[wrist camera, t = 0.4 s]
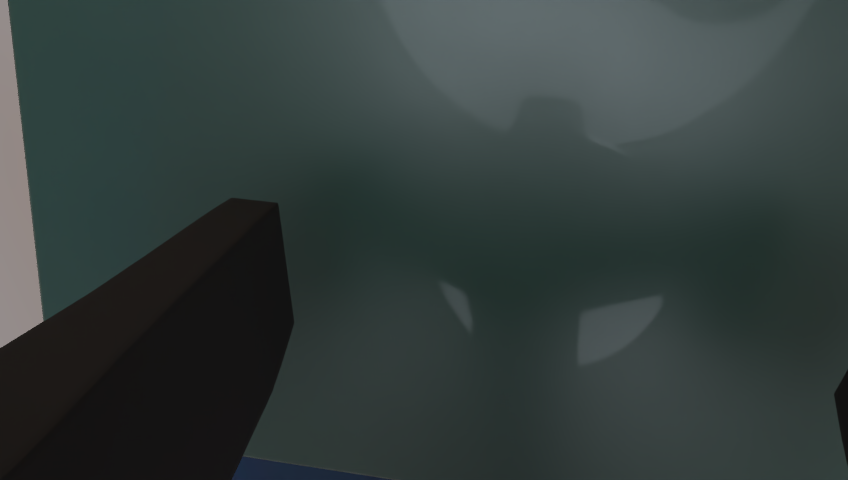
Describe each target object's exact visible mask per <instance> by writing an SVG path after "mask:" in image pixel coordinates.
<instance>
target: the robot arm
mask: <svg viewBox="0 0 848 480" xmlns="http://www.w3.org/2000/svg"><path fill="white" fill-rule="evenodd" d="M293 326H294V316H293V308H292V301H291V294H290V286H289V279H288V272H287V264H286V257H285V250H284V242H283V235H282V228H281V220H280V213H279V206H278V203H276V202H267V201H258V200H249V199H240V198H230V199H228V200H227V201H225V202H223V203H222V204H220V205H218V206H217V207H215V208H214V209H212V210H211V211H209V212H208V213H206V214H205V215H203V216H202V217H200V218H199V219H197V220H196V221H194V222H193V223H192V224H190V225H189V226H187V227H186V228H184V229H183V230H181V231H180V232H179V233H177V234H176V235H174V236H173V237H171V238H170V239H168V240H167V241H166V242H164V243H163V244H161V245H160V246H158V247H157V248H155V249H154V250H153V251H151V252H150V253H148V254H147V255H145V256H144V257H142V258H141V259H139V260H138V261H136V262H135V263H133V264H132V265H130V266H129V267H127V268H126V269H124V270H123V271H122V272H120V273H119V274H117V275H116V276H114V277H113V278H111V279H110V280H108V281H107V282H105V283H104V284H102V285H101V286H99V287H98V288H96V289H95V290H93V291H92V292H90V293H89V294H87V295H86V296H84V297H82V298H81V299H79V300H77V301H76V302H74V303H73V304H71V305H69V306H68V307H66V308H65V309H63V310H61V311H60V312H58V313H56V314H55V315H53V316H52V317H50V318H48V319H47V320H45V321H44V322H42V323H40V324H39V325H37V326H36V327H34V328H32V329H31V330H29V331H27V332H26V333H24V334H23V335H21V336H19V337H18V338H16V339H15V340H13V341H11V342H10V343H8V344H7V345H5V346H3V347H1V348H0V480H232V478H233V475H234V473H235V471H236V469H237V467H238V465H239V463H240V461H241V459H242V456H243V454H244V452H245V450H246V448H247V446H248V444H249V442H250V439H251V437H252V435H253V433H254V431H255V429H256V426H257V424H258V422H259V420H260V418H261V416H262V414H263V411H264V409H265V407H266V405H267V403H268V400H269V398H270V396H271V394H272V391H273V388H274V385H275V382H276V379H277V376H278V373H279V370H280V368H281V365H282V362H283V358H284V355H285V352H286V349H287V345H288V342H289V339H290V336H291V332H292V329H293ZM834 398H835V403H836V409H837V415H838V421H839V426H840V432H841V438H842V442H843V447H844V452H845V456H846V461H847V466H848V370H847V371H846V373H845V375H844V377H843V379H842V380H841V382H840V384H839V386H838V388H837V389H836V391H835V393H834Z"/></svg>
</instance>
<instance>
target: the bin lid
mask: <svg viewBox="0 0 848 480" xmlns="http://www.w3.org/2000/svg"><path fill="white" fill-rule="evenodd" d="M8 6H9V15H10V24H11V32H12V42H13V49H14V60H15V69H16V78H17V87H18V96H19V105H20V114H21V122H22V131H23V141H24V150H25V159H26V168H27V176H28V185H29V194H30V204H31V212H32V222H33V231H34V240H35V248H36V257H37V267H38V276H39V284H40V293H41V302H42V311H43V320H44V321H45V320H47V319H48V318H50V317H52V316H53V315H55V314H56V313H58V312H60V311H61V310H63V309H65V308H66V307H68V306H69V305H71V304H73V303H74V302H76V301H77V300H79V299H81V298H82V297H84V296H86V295H87V294H89V293H90V292H92V291H93V290H95V289H96V288H98V287H99V286H101V285H102V284H104V283H105V282H107V281H108V280H110V279H111V278H113V277H114V276H116V275H117V274H119V273H120V272H122V271H123V270H124V269H126V268H127V267H129V266H130V265H132V264H133V263H135V262H136V261H138V260H139V259H141V258H142V257H144V256H145V255H147V254H148V253H150V252H151V251H153V250H154V249H155V248H157V247H158V246H160V245H161V244H163V243H164V242H166V241H167V240H168V239H170V238H171V237H173V236H174V235H176V234H177V233H179V232H180V231H181V230H183V229H184V228H186V227H187V226H189V225H190V224H192V223H193V222H194V221H196V220H197V219H199V218H200V217H202V216H203V215H205V214H206V213H208V212H209V211H211V210H212V209H214V208H215V207H217V206H218V205H220V204H222V203H223V202H225V201H227V200H228V199H230V198H240V199H249V200H258V201H267V202H276V203H278V206H279V213H280V220H281V228H282V235H283V242H284V250H285V257H286V264H287V272H288V279H289V286H290V294H291V301H292V308H293V316H294V326H293V329H292V332H291V336H290V339H289V342H288V345H287V349H286V352H285V355H284V358H283V362H282V365H281V368H280V370H279V373H278V376H277V379H276V382H275V385H274V388H273V391H272V394H271V396H270V398H269V400H268V403H267V405H266V407H265V409H264V411H263V414H262V416H261V418H260V420H259V422H258V424H257V426H256V429H255V431H254V433H253V435H252V437H251V439H250V442H249V444H248V446H247V448H246V450H245V452H244V454H243V456H245V457H251V458H257V459H264V460H270V461H277V462H283V463H290V464H296V465H303V466H309V467H315V468H322V469H328V470H335V471H341V472H348V473H354V474H361V475H367V476H373V477H380V478H386V479H393V480H848V466H847V461H846V456H845V452H844V447H843V442H842V438H841V432H840V426H839V421H838V415H837V409H836V403H835V398H834V393H835V391H836V389H837V388H838V386H839V384H840V382H841V380H842V379H843V377H844V375H845V373H846V371H847V370H848V0H8Z"/></svg>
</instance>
